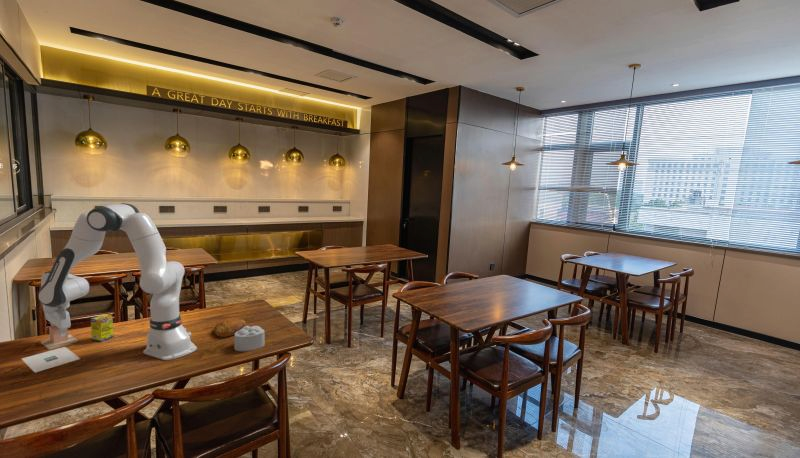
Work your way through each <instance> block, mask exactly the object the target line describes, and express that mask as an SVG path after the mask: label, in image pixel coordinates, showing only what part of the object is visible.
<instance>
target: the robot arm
mask: <svg viewBox="0 0 800 458" xmlns="http://www.w3.org/2000/svg"><path fill="white" fill-rule="evenodd" d="M119 230H122V231H123V232H125V234H126V235H127V237H128V239H129V241H130V243H131V245H132V248H133V250H134V251H135V254H136V256H137V259H138V262H139V268H140V269H139V270H140V280H139V286H140V288H141V290H142V291H143V292H145V293H146V294H151V295H152V298H151V300H150V303H149V305H150V318H149V328H150V329H149V331H148V333H147V334H146V348H145V349H143V355H147V356H150V357H153V358H156V359H159V360H162V361H170V360H175V359H178V358H181V357H184V356H187V355H189V354H191V353H193V352H195V351H196V350H197V349H198V347H197V346H196V345H195V344H194V343H193V342H192V341H191V337H192V332H190V331H187V328H186V327H185V326H183V324H182V323H183V322H182V321H183V320H182V317H181V314H180V295H181V290H182V282H183V278H184V275H185V274H186V273H185V271H186V270H185V267H184V265H183V264H182V263H181V262H179V261H176V260H174V261H173V260H171V261H167V256H166V255H167V254H166V253H167V247H166V245H165V242H164V240H163V239H162V236H161V234H160V232H159V230H158V228H157V226H156V225H155V223H154V221H153V220H152V219H151V217H150V216H149V215H148V214H146V213H144V212H140V211H139V209H138V207H137V206H135V205H134V204H130V203H124V202H123V203H122V202H121V203H110V204H106V205H105V204H104V205H103V206H102V205H101V206H97V207H94V208H92V209H90V211H85V212H83V213H81V214H79V216H78V219H77V220H76V222H75V224H74V226H73V229H72V232H71V235H70V238H69V240H68V241H67V244H66V245H65V246H64V248H63V249H62V250H61V251H60V252H59V253H58V255H57V257H56V258H55V260H54V263H53V265H52V267H51V269H50V270H47V271H44V272H43V273H42V275H41V279H40V288H39V290H38V293H37V297H38V301H39V303H40V304H41V307H42V310H43V314H44V317H45V320H47V321H48V322H49V323H50V326H53V325H55V326H56V327H57V328H59V330H60V332H59V335H60V336H61V337H62V336H65V335H66V333H65V332H66V329H70V328H71V325H72V324H71V317H70V312H69V311H68V310H67V309H68V308H69V307H70V306H71V305H70V304H71V303H70V302H71V301H74V300H76V299H79V298H82V297H85V296H87V295H88V294H89V293H90V290H91V286H90V285H91V284H90V282H89V281H88V279H87V278H85V277H83V276H76V275H74V274H72V273H71V271H72V269H73V268H74V267H75V266H76V265H78V264H79V263H81V262H82V261H84V260H86V259H88V258H90V257H91V256H94V255H96V254H97V253H98V252H99V251H100V250H101V248H102V246H103V245H104V244H103V243H104V239H105V236H106V233H107V232H119Z"/></svg>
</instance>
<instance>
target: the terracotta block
mask: <svg viewBox="0 0 800 458" xmlns="http://www.w3.org/2000/svg"><path fill="white" fill-rule="evenodd" d="M48 330H49V331H48V332H49V339H50V341H51V342H52V343H53V344H56V343H60V342H64V341H67V340H68V334H69V333H68V332H69V331H68V330H69V328H67V329H66V332H65V333H66V335H65V336H62V337H61V336H60V335H59V332H60V330H59V328H57V327H56V326H55V325H53V326H51V325H50V326H49V325H48Z"/></svg>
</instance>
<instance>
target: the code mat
mask: <svg viewBox="0 0 800 458" xmlns="http://www.w3.org/2000/svg"><path fill="white" fill-rule="evenodd" d="M77 360H81V358H80V357H79V356H77V354H75V353H74V352H73V351H72V350H70V349H69V348H68V347H66V346H61V347H59V348H58V347H57V348H54V349H52V350H51V349H50V350H48V351H44V352H40V353H36V354H34V355H31V356H26V357H23V358H21V361H23V362H24V363H25V365H27V366H28V367H29V369H31V371H32V372H34V373H38V372H41V371H42V372H43V371H44V370H48V369H51V368H55V367H58V366H62V365H64V364H68V363H71V362H74V361H77Z"/></svg>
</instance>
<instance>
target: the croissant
mask: <svg viewBox="0 0 800 458" xmlns="http://www.w3.org/2000/svg"><path fill="white" fill-rule="evenodd" d="M245 326H247V323H246V321H245V320H244V319H241V318H240V317H228V318H224V319H221V320H220V321H218V322H217V323H216V325H215V326H214V328H213V332H214V334H216V336H218V337H220V338H227V337H231V336H234V334H235V333H236V332H237V331H239V330H240V329H242V328H243V327H245Z"/></svg>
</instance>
